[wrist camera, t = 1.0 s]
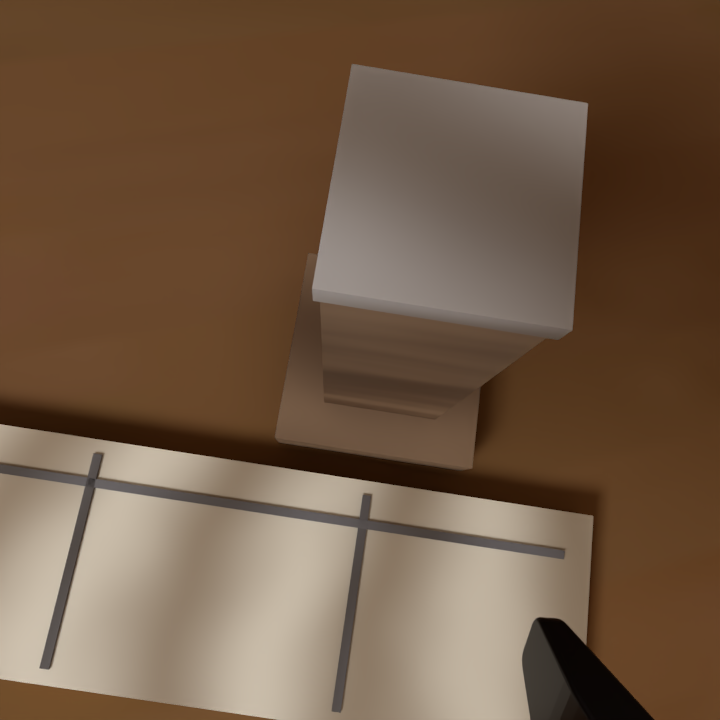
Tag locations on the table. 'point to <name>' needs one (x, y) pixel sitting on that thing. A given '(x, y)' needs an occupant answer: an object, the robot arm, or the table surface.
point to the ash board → (272, 585)
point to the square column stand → (432, 264)
